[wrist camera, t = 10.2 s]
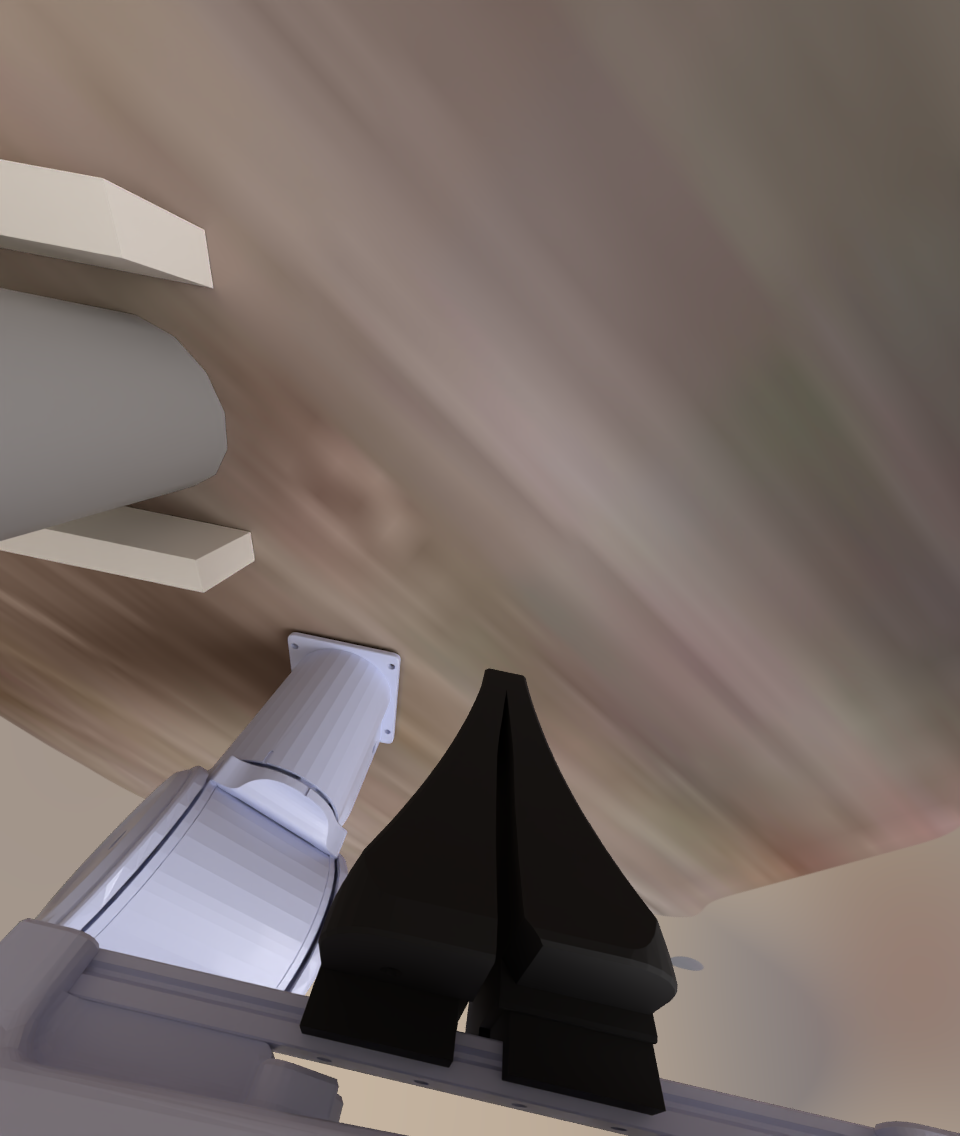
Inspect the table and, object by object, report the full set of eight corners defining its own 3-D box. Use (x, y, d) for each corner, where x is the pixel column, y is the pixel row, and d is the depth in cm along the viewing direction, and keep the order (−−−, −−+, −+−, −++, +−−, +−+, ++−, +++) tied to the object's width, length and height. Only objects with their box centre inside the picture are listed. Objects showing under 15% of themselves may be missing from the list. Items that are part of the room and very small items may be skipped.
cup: (46, 387, 19) (-390, 382, 10) (112, 267, 16) (-420, 106, 7) (179, 513, 21) (-68, 599, 12) (257, 429, 18) (7, 464, 9)
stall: (254, 560, 22) (203, 592, 19) (46, 517, 22) (-44, 540, 19) (204, 229, 15) (103, 178, 11) (-107, 171, 15) (-302, 103, 11)
